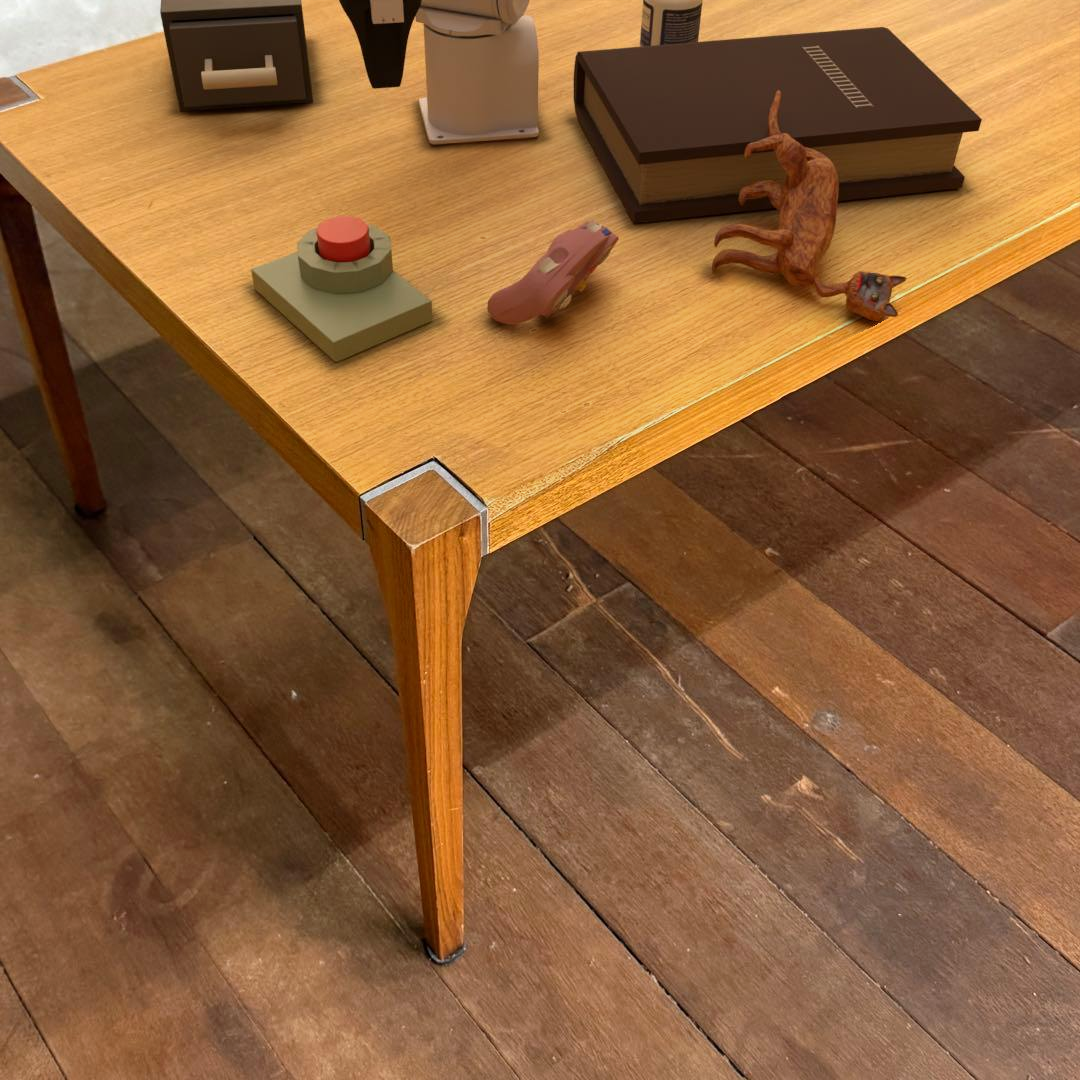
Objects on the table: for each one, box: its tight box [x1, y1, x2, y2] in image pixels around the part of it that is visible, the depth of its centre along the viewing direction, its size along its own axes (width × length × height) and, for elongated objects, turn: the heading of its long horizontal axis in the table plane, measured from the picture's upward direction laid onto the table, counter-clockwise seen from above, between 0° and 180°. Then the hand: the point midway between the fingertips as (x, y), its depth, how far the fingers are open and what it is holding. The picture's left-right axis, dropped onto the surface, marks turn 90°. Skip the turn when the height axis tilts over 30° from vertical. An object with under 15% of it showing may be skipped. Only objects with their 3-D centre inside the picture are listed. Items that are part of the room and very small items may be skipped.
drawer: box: [169, 15, 306, 107], centre depth 106 cm, size 16×10×7 cm, turn 11°
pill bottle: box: [639, 0, 704, 47], centre depth 111 cm, size 5×5×10 cm
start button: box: [316, 215, 370, 263], centre depth 85 cm, size 4×4×2 cm
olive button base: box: [250, 223, 433, 363], centre depth 85 cm, size 11×9×4 cm
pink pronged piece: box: [487, 218, 620, 325], centre depth 85 cm, size 10×5×7 cm, turn 148°
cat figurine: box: [711, 91, 907, 322], centre depth 89 cm, size 18×7×14 cm
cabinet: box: [159, 0, 314, 112], centre depth 108 cm, size 13×12×9 cm
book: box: [573, 26, 983, 224], centre depth 101 cm, size 28×20×6 cm
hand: (385, 83), depth 88 cm, fingers closed
